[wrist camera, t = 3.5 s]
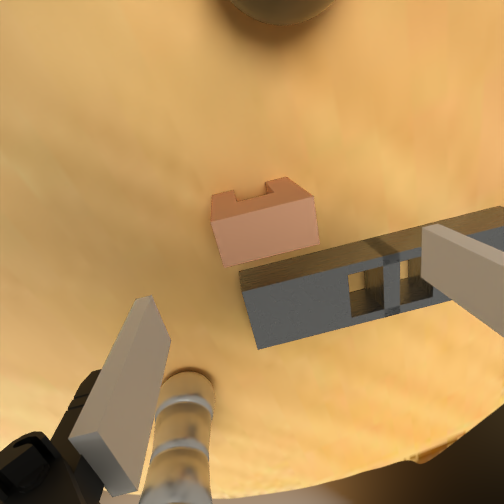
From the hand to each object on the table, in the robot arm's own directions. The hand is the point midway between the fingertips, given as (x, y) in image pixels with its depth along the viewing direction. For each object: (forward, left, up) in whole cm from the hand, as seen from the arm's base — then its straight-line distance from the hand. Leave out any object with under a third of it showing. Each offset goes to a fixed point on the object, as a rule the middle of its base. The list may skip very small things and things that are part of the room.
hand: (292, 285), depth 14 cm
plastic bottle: (-13, -19, -15) cm, 27 cm away
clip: (0, 0, -15) cm, 15 cm away
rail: (+11, -10, -15) cm, 21 cm away
